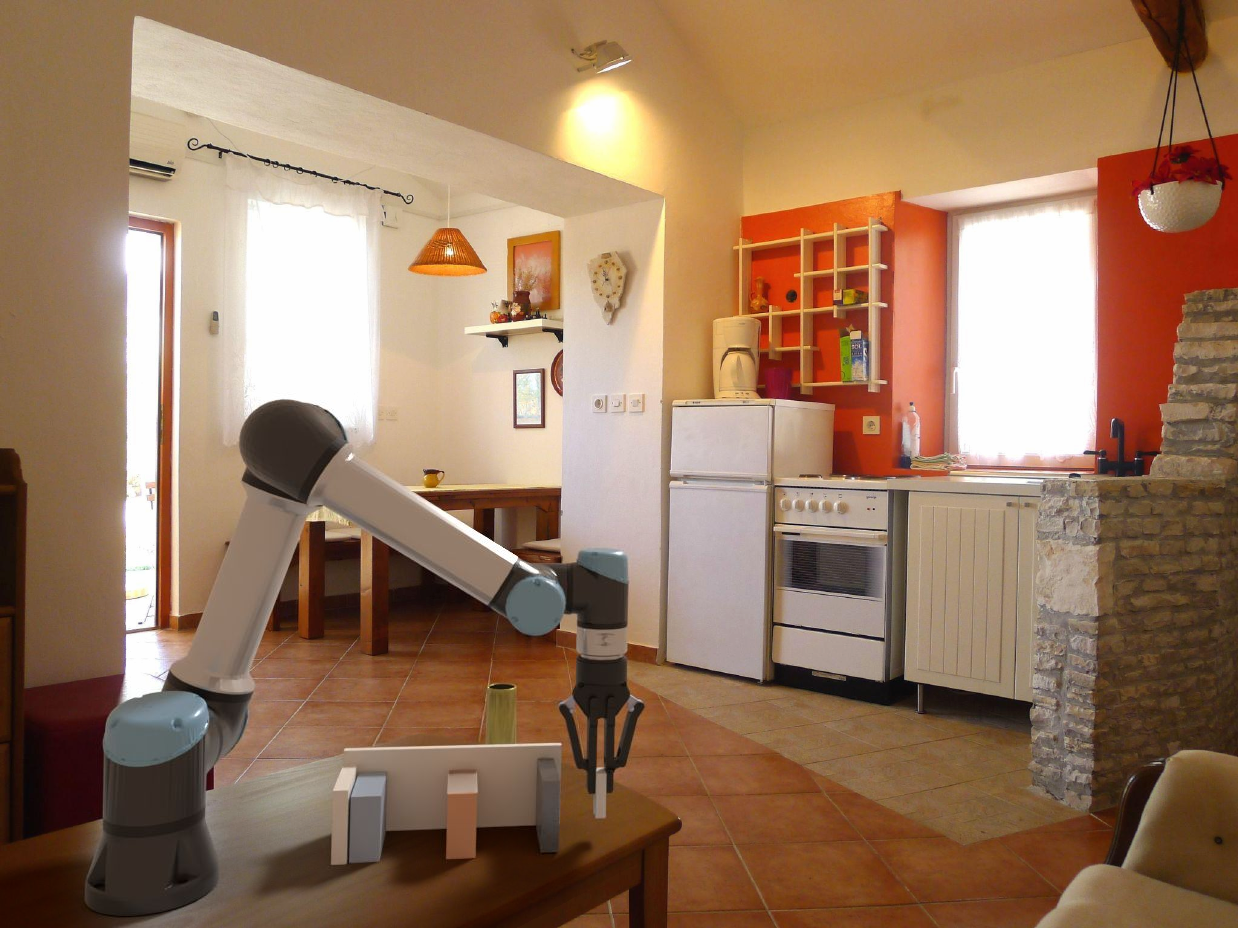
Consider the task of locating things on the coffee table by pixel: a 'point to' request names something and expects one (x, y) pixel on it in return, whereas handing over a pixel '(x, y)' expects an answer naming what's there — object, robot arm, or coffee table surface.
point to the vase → (501, 714)
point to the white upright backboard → (442, 785)
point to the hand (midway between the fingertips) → (599, 814)
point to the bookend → (547, 805)
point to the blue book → (368, 817)
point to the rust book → (461, 814)
